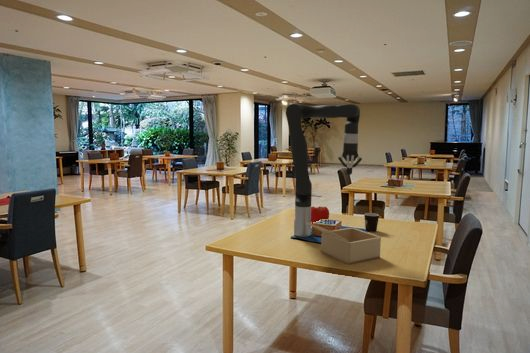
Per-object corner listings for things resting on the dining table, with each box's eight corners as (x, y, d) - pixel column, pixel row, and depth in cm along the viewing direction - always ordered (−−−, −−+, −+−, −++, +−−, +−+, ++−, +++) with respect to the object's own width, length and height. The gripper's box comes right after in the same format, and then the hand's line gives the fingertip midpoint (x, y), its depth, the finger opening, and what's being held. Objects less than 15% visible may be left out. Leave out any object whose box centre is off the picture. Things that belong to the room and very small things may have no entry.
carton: (351, 246, 206) (352, 227, 205) (381, 257, 188) (382, 237, 187) (320, 251, 196) (320, 232, 195) (348, 264, 178) (349, 243, 177)
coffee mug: (378, 232, 233) (379, 216, 231) (364, 232, 234) (364, 215, 233) (377, 228, 244) (378, 212, 243) (363, 227, 246) (363, 211, 244)
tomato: (311, 227, 245) (312, 208, 243) (305, 221, 259) (306, 204, 257) (332, 226, 247) (332, 208, 245) (325, 221, 261) (325, 204, 259)
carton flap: (323, 231, 194) (306, 221, 188) (348, 240, 178) (330, 230, 172) (322, 232, 194) (305, 223, 188) (348, 241, 178) (330, 232, 172)
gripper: (338, 142, 205) (336, 175, 207) (363, 143, 203) (362, 176, 205) (338, 141, 213) (336, 173, 215) (363, 142, 210) (361, 174, 212)
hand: (349, 174), depth 210 cm, fingers closed
